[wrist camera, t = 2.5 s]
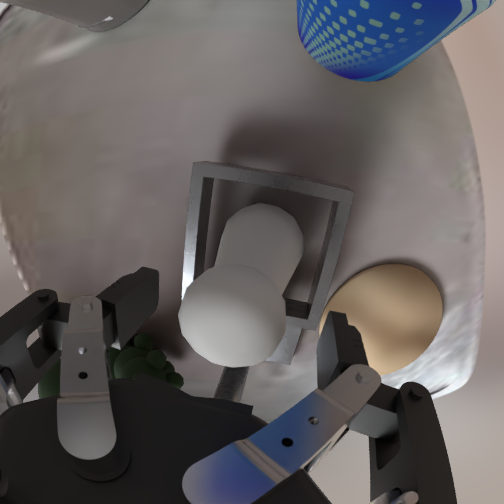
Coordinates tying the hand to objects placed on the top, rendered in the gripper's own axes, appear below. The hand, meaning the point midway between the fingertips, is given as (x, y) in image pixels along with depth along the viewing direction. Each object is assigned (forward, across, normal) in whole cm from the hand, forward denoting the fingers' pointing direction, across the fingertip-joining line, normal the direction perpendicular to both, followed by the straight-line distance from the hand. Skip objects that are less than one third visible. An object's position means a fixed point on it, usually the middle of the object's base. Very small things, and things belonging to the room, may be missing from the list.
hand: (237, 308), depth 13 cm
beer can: (+10, -4, -18) cm, 21 cm away
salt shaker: (+11, 0, -1) cm, 11 cm away
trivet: (+10, -12, +5) cm, 17 cm away
